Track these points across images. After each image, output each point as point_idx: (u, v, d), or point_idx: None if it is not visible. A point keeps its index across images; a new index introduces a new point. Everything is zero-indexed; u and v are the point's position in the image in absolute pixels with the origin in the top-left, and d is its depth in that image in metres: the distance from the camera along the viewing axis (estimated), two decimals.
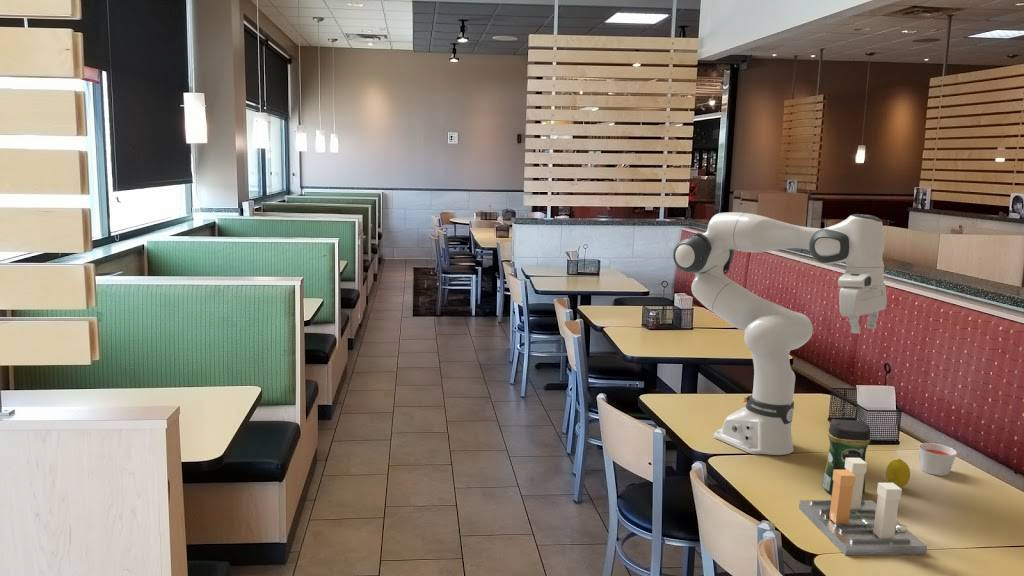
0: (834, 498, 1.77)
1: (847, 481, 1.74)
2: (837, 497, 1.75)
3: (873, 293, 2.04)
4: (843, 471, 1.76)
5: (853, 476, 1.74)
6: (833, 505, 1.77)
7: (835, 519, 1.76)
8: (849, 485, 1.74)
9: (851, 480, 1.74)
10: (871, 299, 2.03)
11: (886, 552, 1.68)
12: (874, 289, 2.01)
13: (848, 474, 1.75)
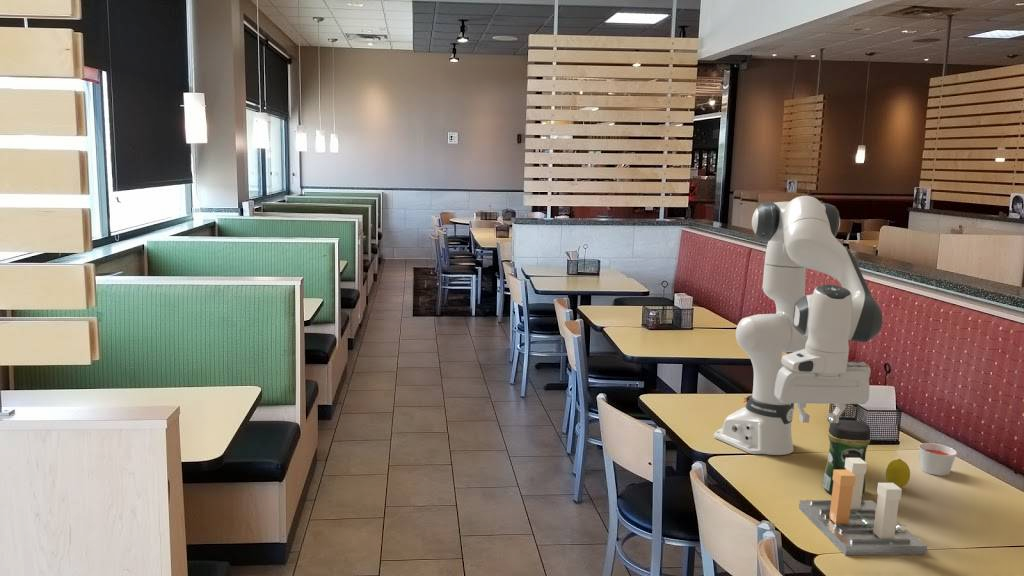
0: (834, 498, 1.77)
1: (847, 481, 1.74)
2: (837, 497, 1.75)
3: (835, 381, 1.71)
4: (843, 471, 1.76)
5: (853, 476, 1.74)
6: (833, 505, 1.77)
7: (835, 519, 1.76)
8: (849, 485, 1.74)
9: (851, 480, 1.74)
10: (827, 388, 1.71)
11: (886, 552, 1.68)
12: (826, 377, 1.69)
13: (848, 474, 1.75)
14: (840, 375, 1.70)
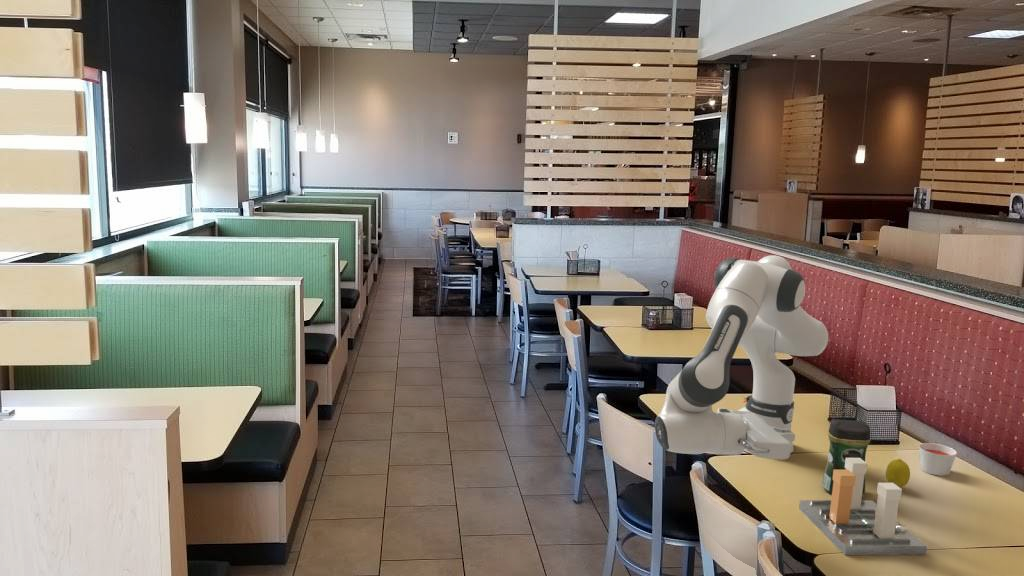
0: (834, 498, 1.77)
1: (847, 481, 1.74)
2: (837, 497, 1.75)
3: None
4: (843, 471, 1.76)
5: (853, 476, 1.74)
6: (833, 505, 1.77)
7: (835, 519, 1.76)
8: (849, 485, 1.74)
9: (851, 480, 1.74)
10: None
11: (886, 552, 1.68)
12: None
13: (848, 474, 1.75)
14: None
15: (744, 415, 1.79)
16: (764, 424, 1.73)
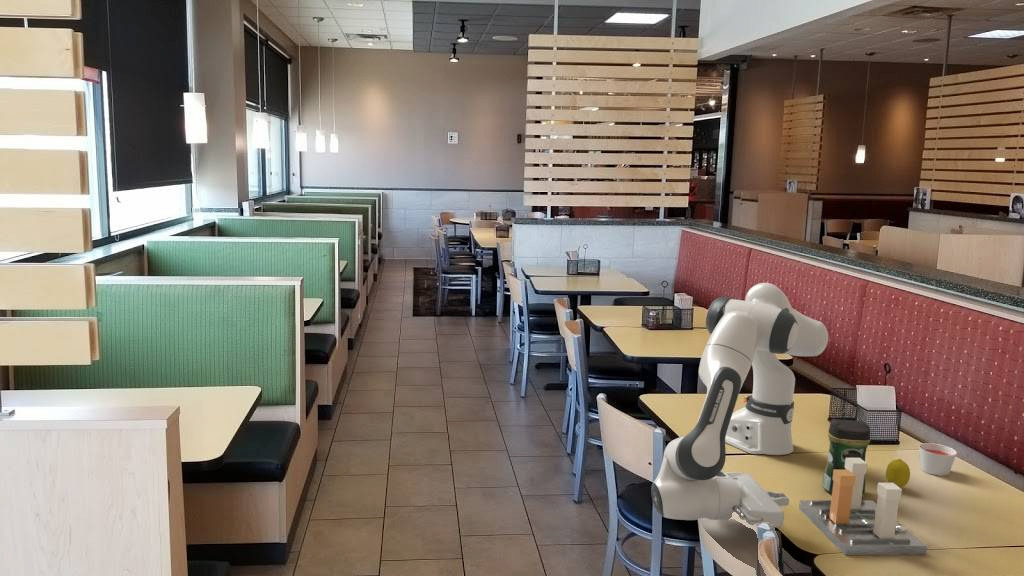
0: (834, 498, 1.77)
1: (847, 481, 1.74)
2: (837, 497, 1.75)
3: None
4: (843, 471, 1.76)
5: (853, 476, 1.74)
6: (833, 505, 1.77)
7: (835, 519, 1.76)
8: (849, 485, 1.74)
9: (851, 480, 1.74)
10: None
11: (886, 552, 1.68)
12: None
13: (848, 474, 1.75)
14: None
15: (739, 477, 1.82)
16: (758, 489, 1.76)
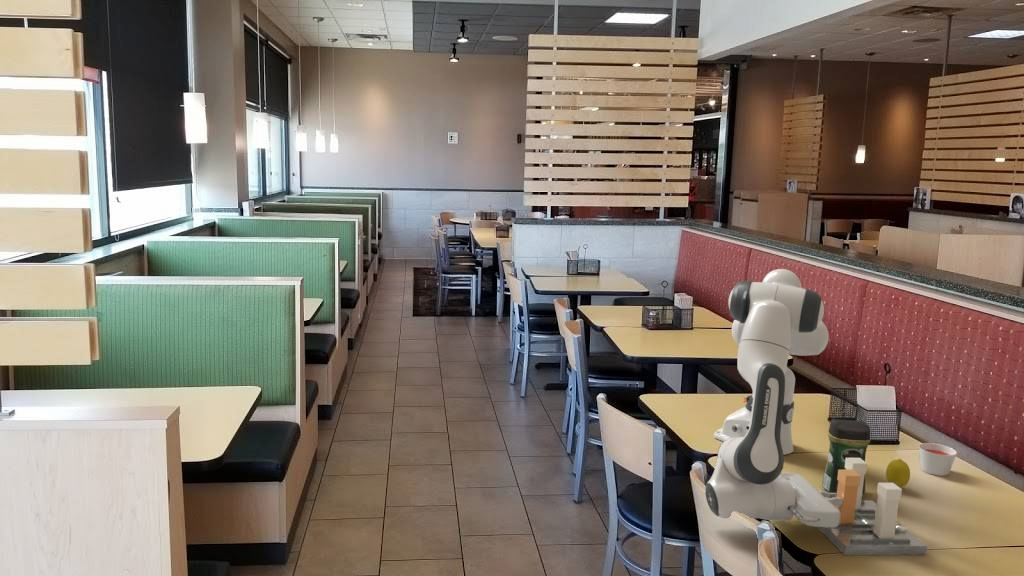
0: None
1: (852, 481, 1.74)
2: (842, 497, 1.76)
3: None
4: (848, 471, 1.76)
5: (858, 476, 1.74)
6: None
7: (840, 519, 1.76)
8: (854, 485, 1.74)
9: (856, 480, 1.74)
10: None
11: (886, 552, 1.68)
12: None
13: (853, 474, 1.75)
14: None
15: (791, 478, 1.83)
16: (812, 489, 1.77)
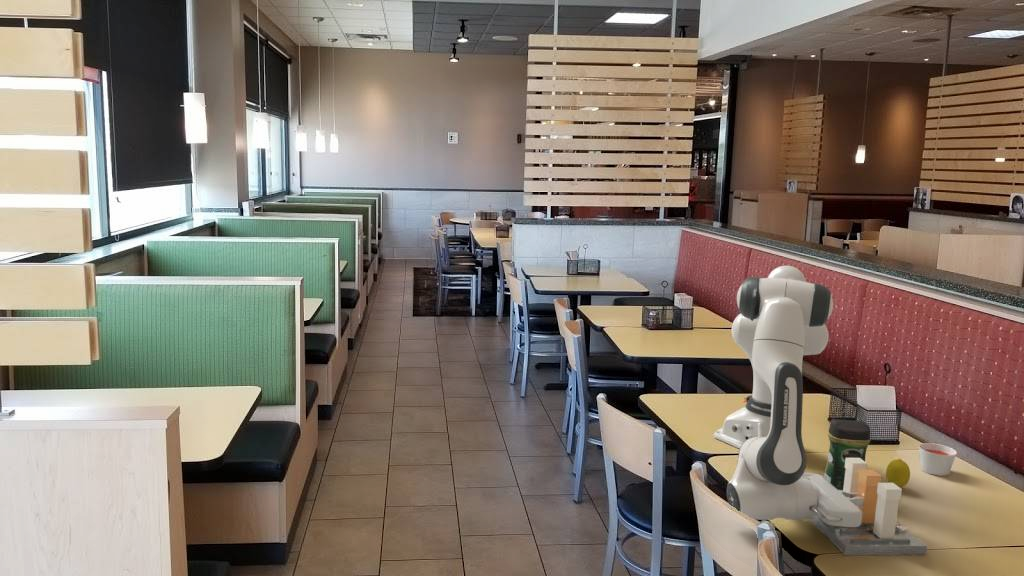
0: None
1: (873, 481, 1.75)
2: (863, 497, 1.76)
3: None
4: (868, 471, 1.77)
5: (879, 476, 1.75)
6: None
7: None
8: (875, 485, 1.75)
9: (877, 480, 1.75)
10: None
11: (886, 552, 1.68)
12: None
13: (874, 474, 1.75)
14: None
15: (811, 478, 1.83)
16: (832, 489, 1.77)
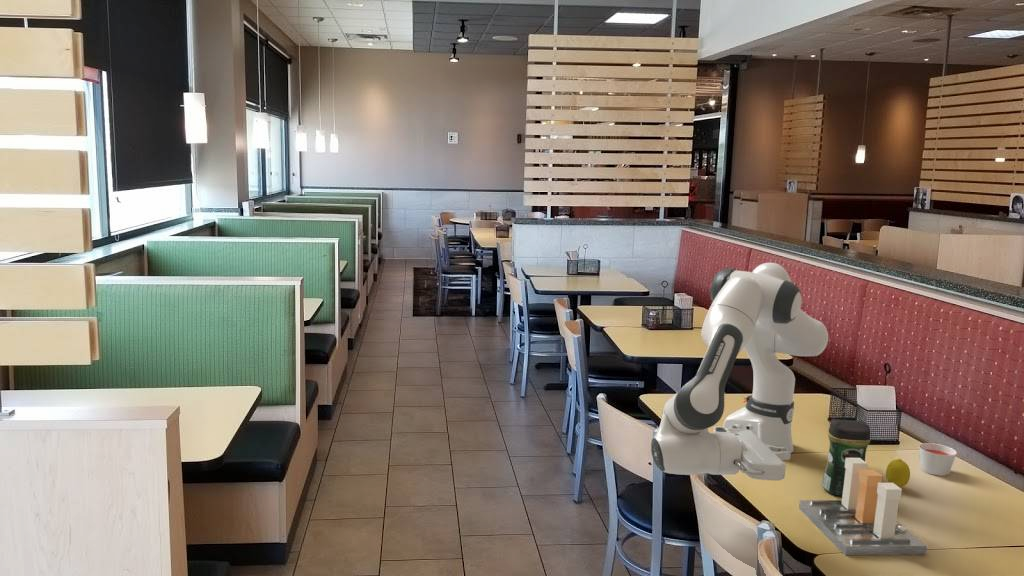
0: (860, 498, 1.77)
1: (873, 481, 1.75)
2: (863, 497, 1.76)
3: None
4: (869, 471, 1.77)
5: (880, 476, 1.75)
6: (859, 505, 1.78)
7: (861, 519, 1.77)
8: (875, 485, 1.75)
9: (878, 480, 1.75)
10: None
11: (886, 552, 1.68)
12: None
13: (874, 474, 1.75)
14: None
15: (740, 433, 1.80)
16: (759, 443, 1.74)
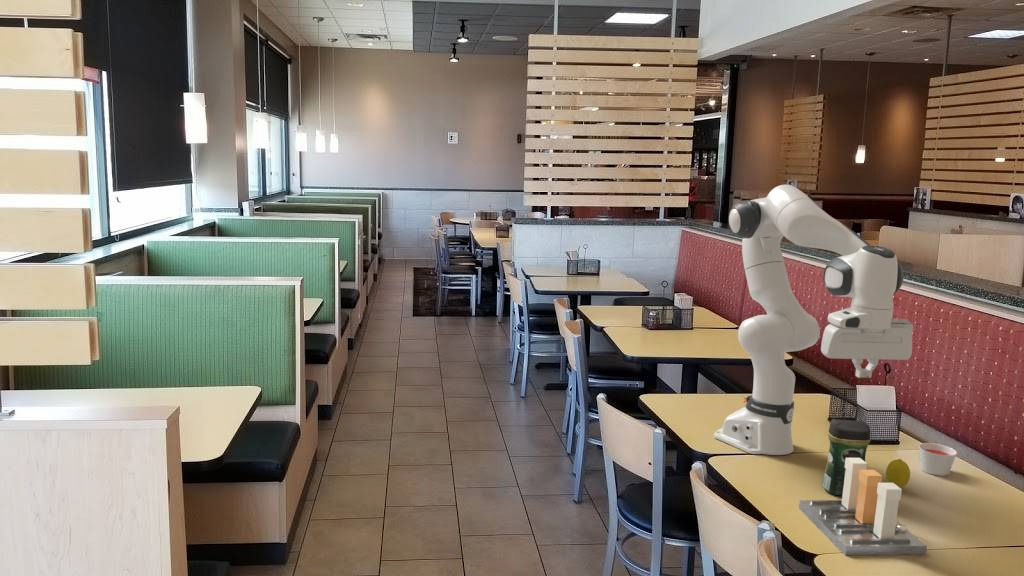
0: (860, 498, 1.77)
1: (873, 481, 1.75)
2: (863, 497, 1.76)
3: (879, 338, 1.79)
4: (869, 471, 1.77)
5: (880, 476, 1.75)
6: (859, 505, 1.78)
7: (861, 519, 1.77)
8: (875, 485, 1.75)
9: (878, 480, 1.75)
10: (872, 344, 1.79)
11: (886, 552, 1.68)
12: (871, 333, 1.77)
13: (874, 474, 1.75)
14: (885, 332, 1.78)
15: None
16: None
